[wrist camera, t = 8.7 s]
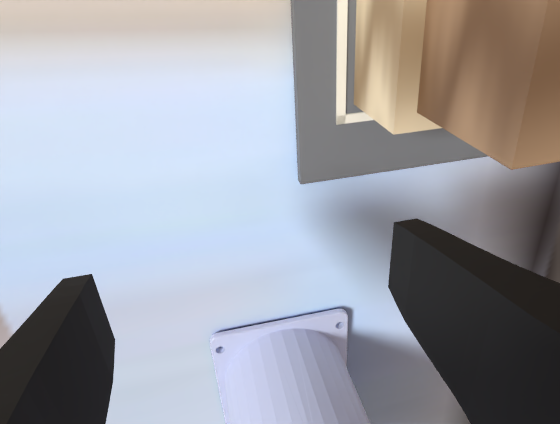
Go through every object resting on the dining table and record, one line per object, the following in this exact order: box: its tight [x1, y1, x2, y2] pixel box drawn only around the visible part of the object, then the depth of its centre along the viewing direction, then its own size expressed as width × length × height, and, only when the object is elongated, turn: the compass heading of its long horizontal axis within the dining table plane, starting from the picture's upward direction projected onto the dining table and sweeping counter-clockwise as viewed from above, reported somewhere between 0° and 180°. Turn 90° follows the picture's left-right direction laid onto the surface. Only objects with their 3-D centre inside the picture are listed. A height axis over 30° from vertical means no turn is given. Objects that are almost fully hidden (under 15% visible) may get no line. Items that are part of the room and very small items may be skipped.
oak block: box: [354, 0, 442, 135], centre depth 16 cm, size 6×6×4 cm
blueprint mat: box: [291, 0, 488, 184], centre depth 18 cm, size 13×13×1 cm
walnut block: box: [417, 0, 560, 170], centre depth 12 cm, size 4×4×5 cm
